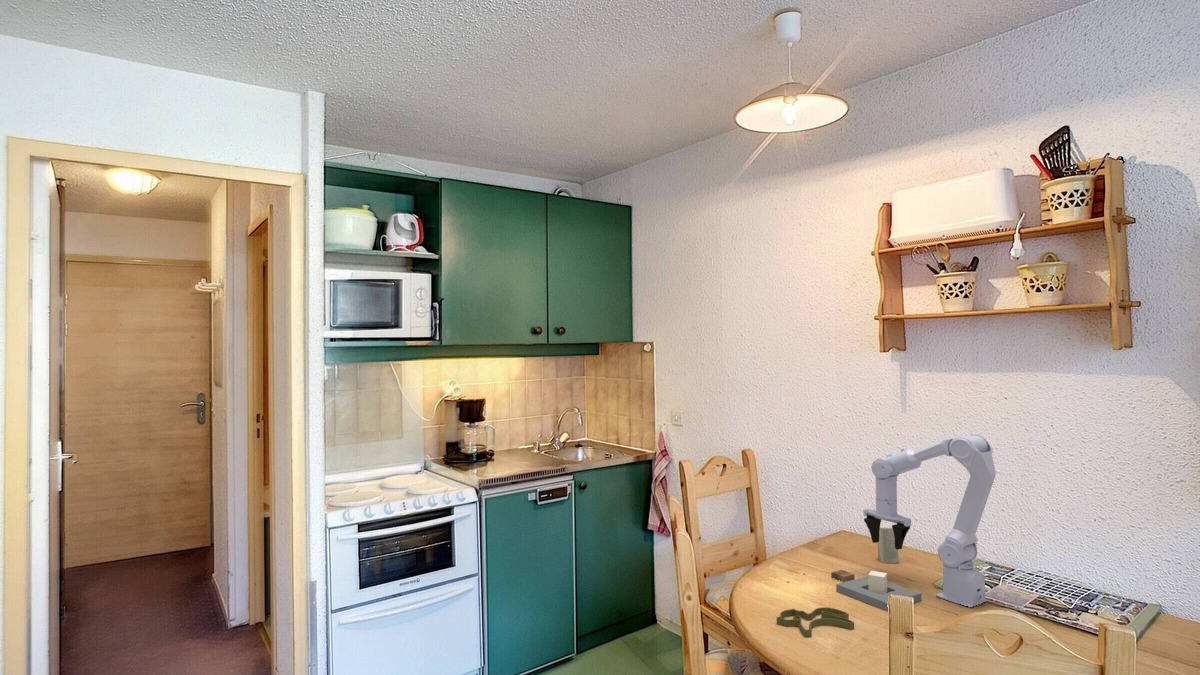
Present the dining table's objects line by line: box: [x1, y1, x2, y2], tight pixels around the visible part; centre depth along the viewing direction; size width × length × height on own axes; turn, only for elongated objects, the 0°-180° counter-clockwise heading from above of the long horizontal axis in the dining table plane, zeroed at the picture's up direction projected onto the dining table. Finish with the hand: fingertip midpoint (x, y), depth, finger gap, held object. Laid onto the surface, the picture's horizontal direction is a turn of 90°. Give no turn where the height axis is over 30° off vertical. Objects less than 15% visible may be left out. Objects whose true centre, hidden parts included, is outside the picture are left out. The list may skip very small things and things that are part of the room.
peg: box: [867, 570, 888, 595], centre depth 174 cm, size 4×4×6 cm
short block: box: [830, 569, 855, 583], centre depth 187 cm, size 4×4×2 cm
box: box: [877, 524, 899, 564], centre depth 204 cm, size 5×4×11 cm
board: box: [835, 575, 922, 612], centre depth 174 cm, size 16×14×2 cm
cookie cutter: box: [776, 607, 855, 638], centre depth 156 cm, size 18×12×2 cm, turn 109°
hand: (887, 545), depth 188 cm, fingers open, 7 cm apart
